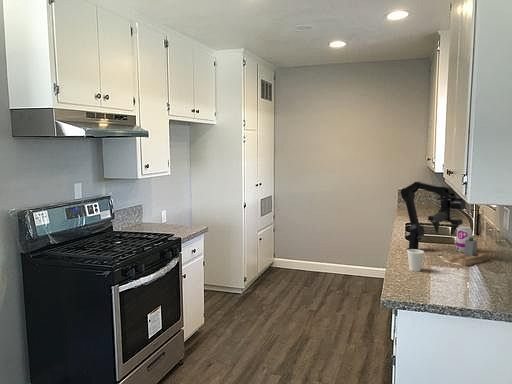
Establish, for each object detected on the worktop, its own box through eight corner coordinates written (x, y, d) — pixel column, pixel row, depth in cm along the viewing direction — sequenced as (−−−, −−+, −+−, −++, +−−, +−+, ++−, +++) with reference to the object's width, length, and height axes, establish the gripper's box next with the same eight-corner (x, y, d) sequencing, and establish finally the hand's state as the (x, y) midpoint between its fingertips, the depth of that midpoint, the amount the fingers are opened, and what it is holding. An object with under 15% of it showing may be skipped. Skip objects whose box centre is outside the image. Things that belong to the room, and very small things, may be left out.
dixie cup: (403, 268, 226) (403, 249, 225) (415, 266, 229) (416, 248, 228) (414, 272, 218) (414, 253, 217) (427, 271, 221) (427, 252, 220)
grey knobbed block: (464, 258, 244) (465, 236, 243) (468, 257, 247) (469, 235, 245) (471, 260, 240) (473, 238, 239) (476, 258, 243) (477, 237, 242)
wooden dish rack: (440, 261, 239) (441, 253, 239) (464, 255, 253) (464, 248, 252) (464, 267, 228) (465, 259, 227) (488, 261, 241) (488, 253, 241)
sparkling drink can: (466, 253, 259) (468, 228, 258) (453, 250, 266) (454, 226, 264) (472, 251, 265) (474, 227, 263) (459, 248, 271) (460, 225, 269)
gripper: (422, 207, 252) (421, 233, 254) (452, 211, 237) (451, 238, 239) (434, 205, 259) (432, 231, 260) (463, 209, 243) (462, 236, 245)
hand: (444, 234), depth 251 cm, fingers open, 9 cm apart
